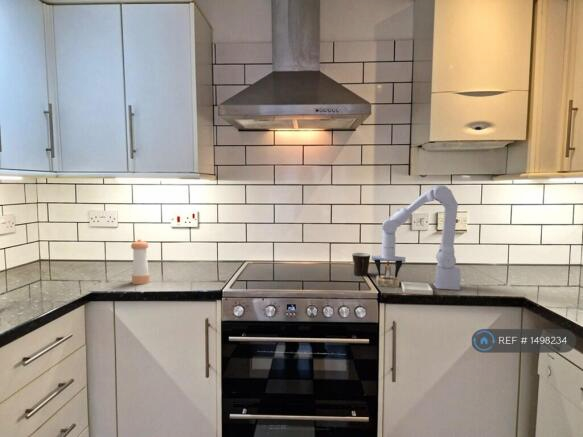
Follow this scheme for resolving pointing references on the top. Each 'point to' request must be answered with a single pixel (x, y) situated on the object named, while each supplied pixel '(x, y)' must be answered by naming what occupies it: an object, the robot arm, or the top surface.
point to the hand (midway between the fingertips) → (387, 277)
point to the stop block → (387, 281)
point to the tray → (416, 288)
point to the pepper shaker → (140, 263)
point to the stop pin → (387, 272)
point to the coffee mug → (361, 263)
